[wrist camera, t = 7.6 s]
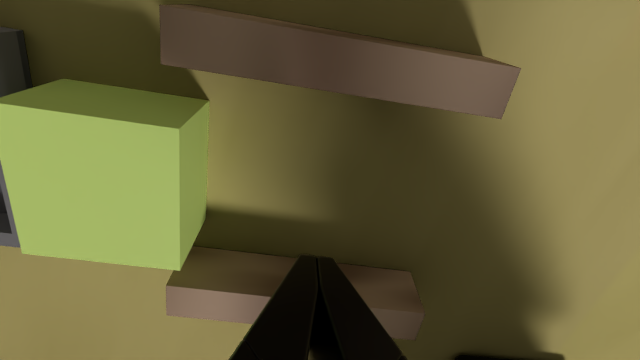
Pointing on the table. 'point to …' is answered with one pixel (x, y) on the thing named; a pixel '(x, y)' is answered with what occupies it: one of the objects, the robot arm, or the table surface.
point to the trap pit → (4, 79)
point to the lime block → (105, 172)
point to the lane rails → (329, 75)
